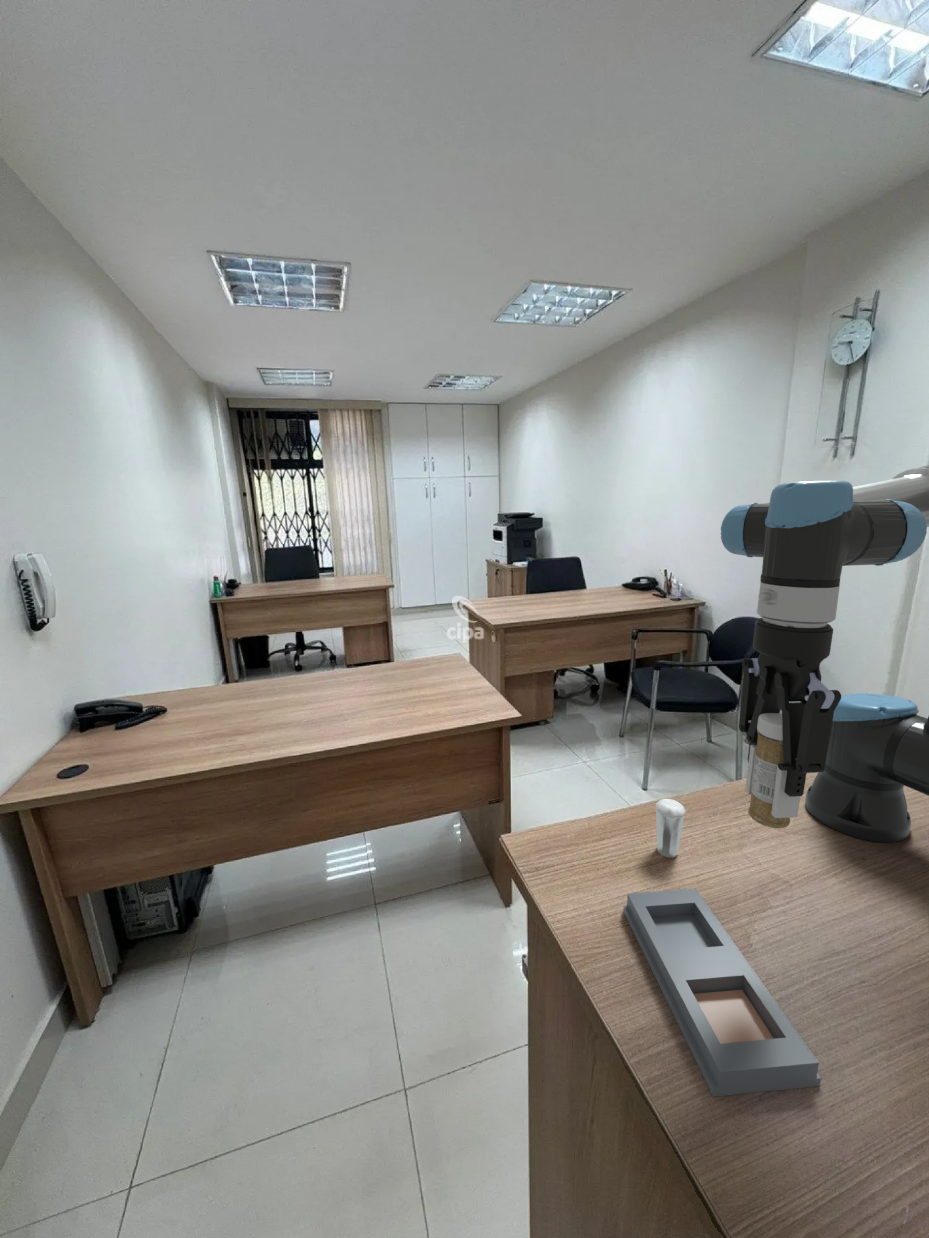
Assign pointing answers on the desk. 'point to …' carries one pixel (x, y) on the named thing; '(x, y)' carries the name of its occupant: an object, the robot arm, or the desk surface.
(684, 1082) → the desk surface
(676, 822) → the milkshake
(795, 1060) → the two-pocket grey tray
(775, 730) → the sprinkles bottle
